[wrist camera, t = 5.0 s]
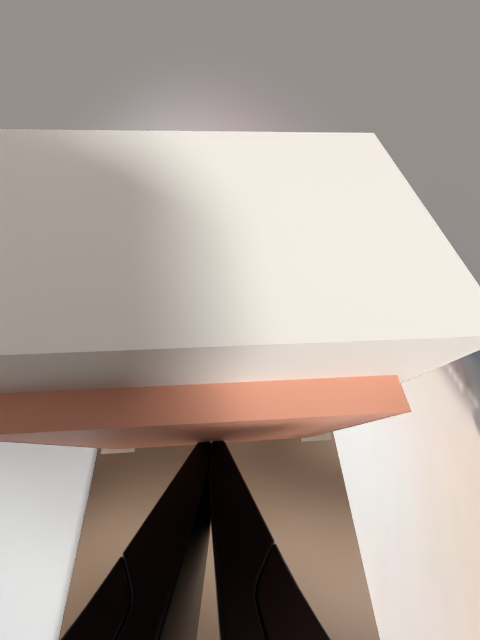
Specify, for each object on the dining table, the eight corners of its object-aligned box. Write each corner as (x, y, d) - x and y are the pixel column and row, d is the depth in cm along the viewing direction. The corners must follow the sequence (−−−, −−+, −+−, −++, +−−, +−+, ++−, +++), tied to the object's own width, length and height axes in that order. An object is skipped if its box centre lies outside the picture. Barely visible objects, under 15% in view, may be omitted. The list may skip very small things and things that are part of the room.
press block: (298, 442, 12) (546, 385, 3) (136, 451, 12) (-293, 428, 2) (282, 340, 15) (373, 132, 5) (151, 346, 14) (-7, 129, 5)
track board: (379, 708, 9) (406, 752, 8) (56, 748, 9) (22, 805, 7) (302, 335, 17) (309, 324, 16) (131, 341, 16) (122, 330, 15)
